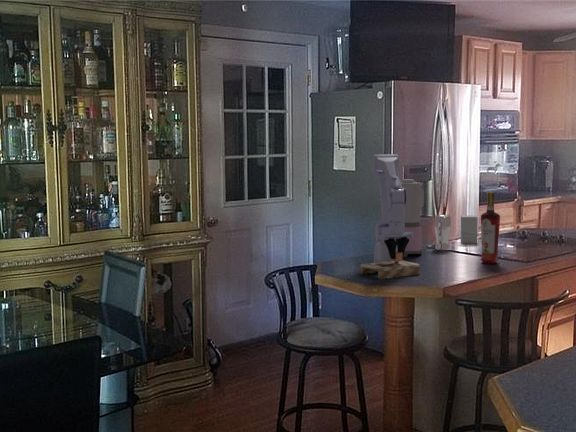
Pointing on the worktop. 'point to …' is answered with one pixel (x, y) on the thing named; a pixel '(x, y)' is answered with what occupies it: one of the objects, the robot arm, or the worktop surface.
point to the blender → (413, 215)
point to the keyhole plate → (391, 269)
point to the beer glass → (442, 231)
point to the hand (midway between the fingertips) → (396, 258)
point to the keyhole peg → (397, 257)
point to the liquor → (490, 232)
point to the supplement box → (469, 228)
